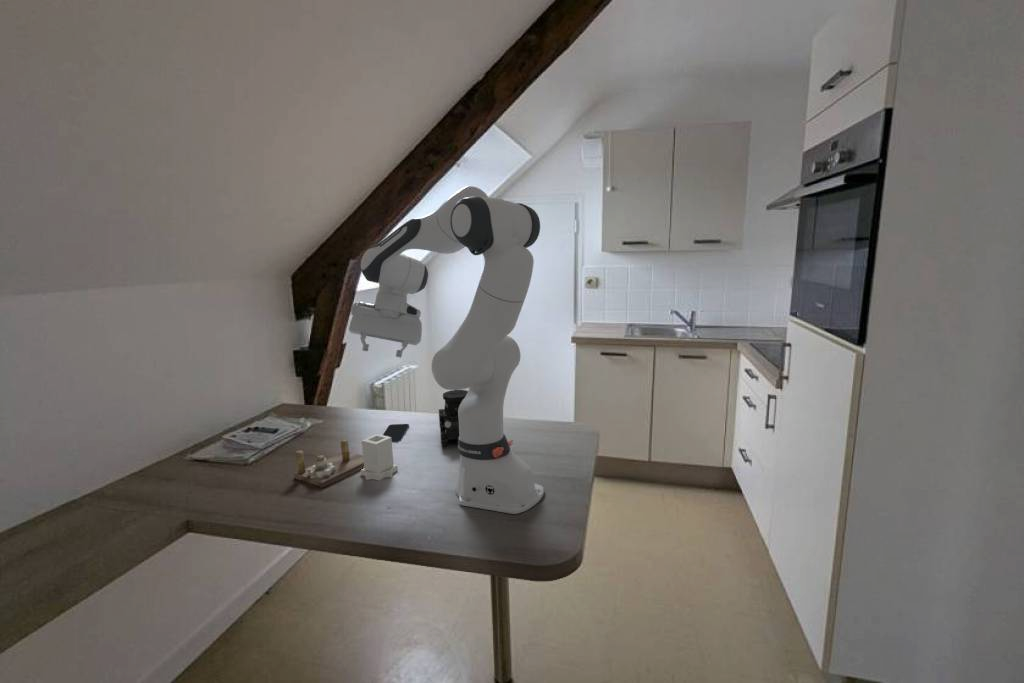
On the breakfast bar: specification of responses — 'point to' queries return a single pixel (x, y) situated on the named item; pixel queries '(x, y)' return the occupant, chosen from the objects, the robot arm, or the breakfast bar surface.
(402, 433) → the smartphone
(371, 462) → the white square socket
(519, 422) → the breakfast bar surface
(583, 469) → the breakfast bar surface
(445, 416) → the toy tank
